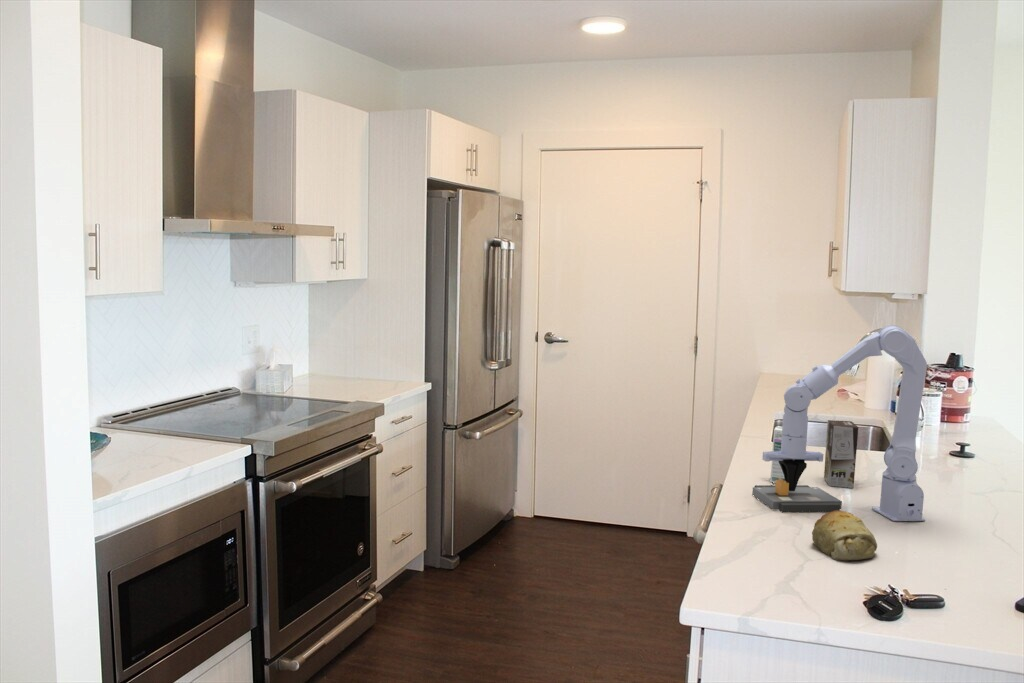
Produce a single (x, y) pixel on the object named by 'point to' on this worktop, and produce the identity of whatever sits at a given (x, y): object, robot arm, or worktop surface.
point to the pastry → (843, 536)
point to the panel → (793, 496)
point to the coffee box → (840, 453)
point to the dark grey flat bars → (806, 505)
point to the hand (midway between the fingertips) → (790, 490)
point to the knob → (781, 487)
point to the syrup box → (777, 439)
